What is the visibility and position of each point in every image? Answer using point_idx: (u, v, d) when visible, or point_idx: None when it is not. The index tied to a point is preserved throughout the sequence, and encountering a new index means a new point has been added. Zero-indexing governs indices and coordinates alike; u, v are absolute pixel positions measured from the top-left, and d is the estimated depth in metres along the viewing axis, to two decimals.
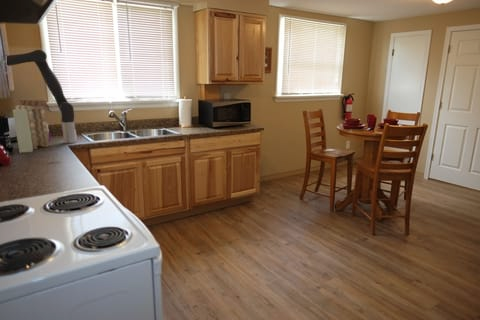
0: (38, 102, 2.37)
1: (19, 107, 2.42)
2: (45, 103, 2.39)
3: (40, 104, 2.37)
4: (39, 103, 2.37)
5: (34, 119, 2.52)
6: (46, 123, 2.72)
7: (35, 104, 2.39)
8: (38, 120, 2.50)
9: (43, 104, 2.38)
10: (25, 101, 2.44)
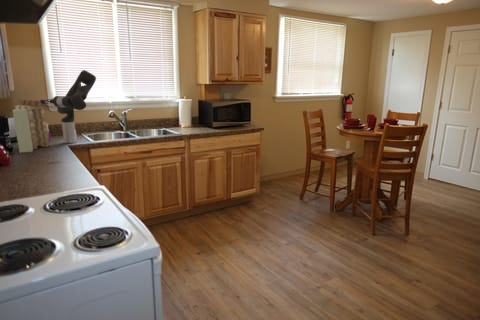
0: (38, 102, 2.37)
1: (19, 107, 2.42)
2: None
3: (40, 104, 2.37)
4: (39, 103, 2.37)
5: (34, 119, 2.52)
6: (46, 123, 2.72)
7: (35, 104, 2.39)
8: (38, 120, 2.50)
9: (43, 104, 2.38)
10: (25, 101, 2.44)
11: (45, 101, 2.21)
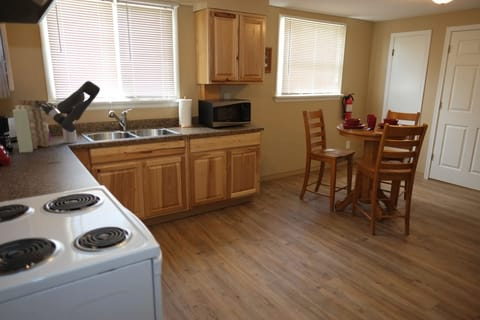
0: None
1: (19, 107, 2.42)
2: (45, 103, 2.39)
3: None
4: None
5: (34, 119, 2.52)
6: (46, 123, 2.72)
7: (35, 104, 2.39)
8: (38, 120, 2.50)
9: None
10: (25, 101, 2.44)
11: (37, 107, 2.32)
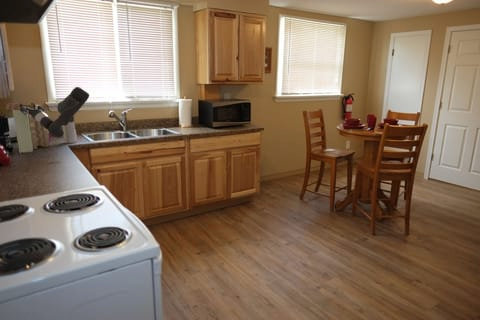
0: (24, 106, 2.24)
1: None
2: (32, 107, 2.25)
3: None
4: None
5: (34, 119, 2.52)
6: None
7: None
8: None
9: None
10: (11, 105, 2.30)
11: (23, 111, 2.17)
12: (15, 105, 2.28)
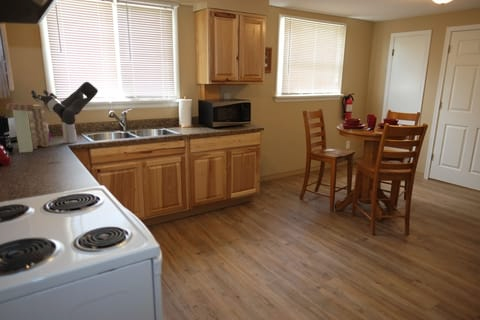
0: (24, 106, 2.24)
1: None
2: (32, 107, 2.25)
3: (26, 108, 2.23)
4: (25, 107, 2.23)
5: (34, 119, 2.52)
6: (46, 123, 2.72)
7: (21, 108, 2.26)
8: (38, 120, 2.50)
9: (30, 108, 2.24)
10: (11, 105, 2.30)
11: (36, 98, 2.15)
12: (15, 105, 2.28)
